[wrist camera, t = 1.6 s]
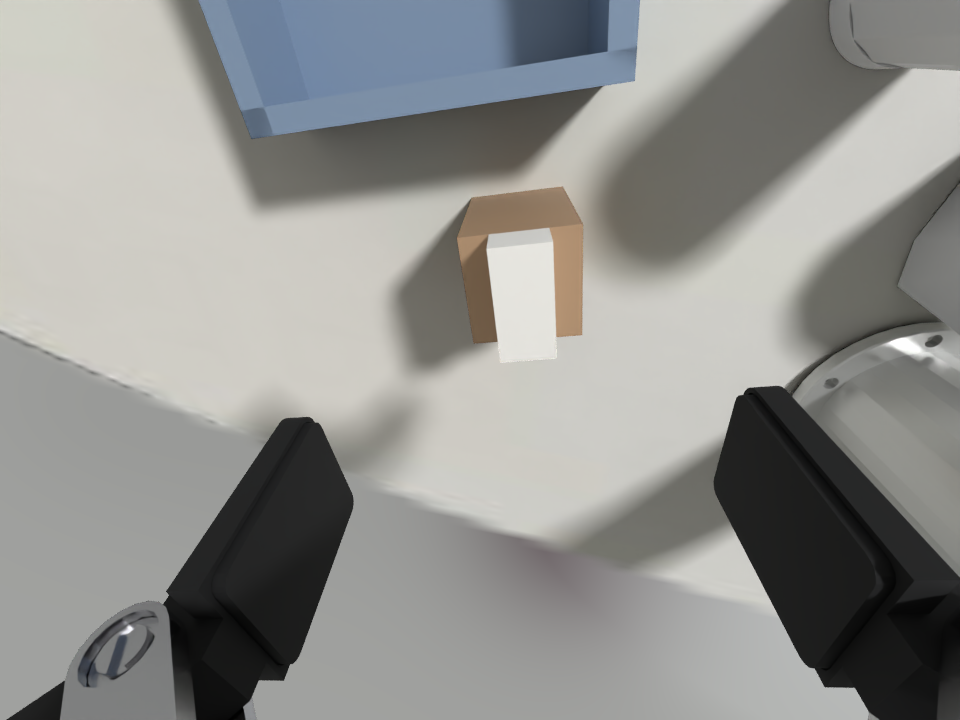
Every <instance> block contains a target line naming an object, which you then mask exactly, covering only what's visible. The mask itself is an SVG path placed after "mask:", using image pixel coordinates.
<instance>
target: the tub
mask: <svg viewBox="0 0 960 720" xmlns="http://www.w3.org/2000/svg"><path fill="white" fill-rule="evenodd" d="M199 3H200V5H201V8H202V11H203V13H204V16H205V19H206V21H207V24H208V26H209V29H210V32H211V34H212V37H213V40H214V42H215V45H216V47H217V50H218V53H219V55H220V58H221V60H222V63H223V66H224V68H225V71H226V74H227V76H228V79H229V81H230V84H231V87H232V89H233V92H234V95H235V97H236V100H237V102H238V105H239V108H240V110H241V113H242V115H243V118H244V121H245V123H246V126H247V129H248V131H249V134H250V136H251V139H255V138H261V137H268V136H274V135H281V134H288V133H294V132H301V131H307V130H314V129H321V128H327V127H334V126H341V125H347V124H354V123H360V122H367V121H374V120H380V119H387V118H393V117H400V116H407V115H413V114H420V113H426V112H433V111H440V110H446V109H453V108H460V107H466V106H473V105H479V104H486V103H493V102H499V101H506V100H512V99H519V98H526V97H532V96H539V95H545V94H552V93H559V92H565V91H572V90H579V89H585V88H592V87H598V86H605V85H612V84H618V83H625V82H631V81H635V69H636V53H637V37H638V22H639V6H640V0H199Z"/></svg>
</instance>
